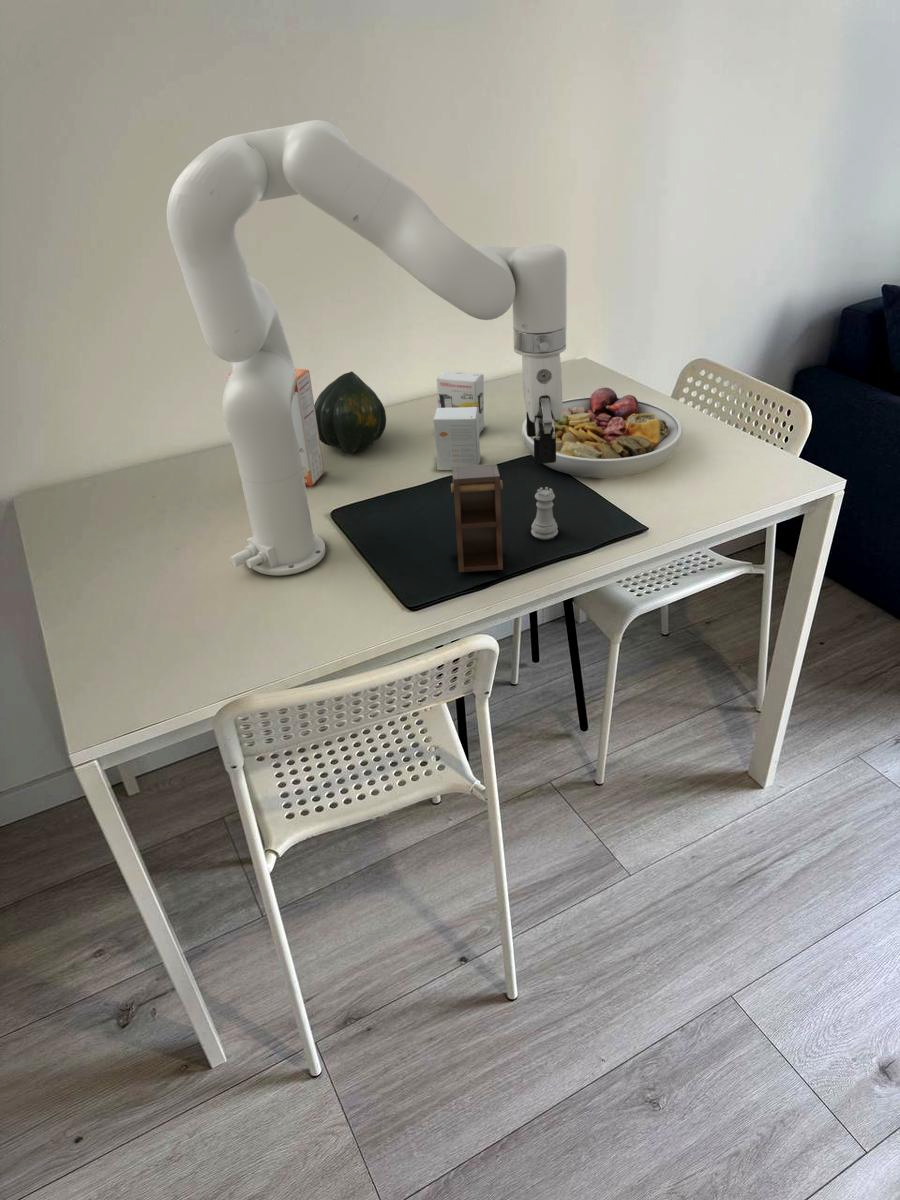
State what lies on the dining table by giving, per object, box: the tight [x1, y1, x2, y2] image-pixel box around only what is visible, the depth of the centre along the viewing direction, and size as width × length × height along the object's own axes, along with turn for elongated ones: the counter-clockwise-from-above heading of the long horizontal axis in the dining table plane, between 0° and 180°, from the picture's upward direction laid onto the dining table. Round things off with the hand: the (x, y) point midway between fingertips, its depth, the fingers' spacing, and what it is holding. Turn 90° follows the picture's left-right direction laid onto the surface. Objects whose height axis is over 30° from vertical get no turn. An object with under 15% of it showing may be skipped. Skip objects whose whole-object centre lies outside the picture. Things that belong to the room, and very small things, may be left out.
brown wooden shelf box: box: [450, 463, 504, 573], centre depth 132 cm, size 15×8×6 cm
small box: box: [432, 407, 481, 471], centre depth 163 cm, size 8×6×10 cm
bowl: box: [521, 387, 683, 479], centre depth 166 cm, size 30×30×8 cm
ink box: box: [436, 369, 485, 435], centre depth 176 cm, size 9×5×12 cm, turn 70°
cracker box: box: [225, 368, 325, 487], centre depth 160 cm, size 14×6×21 cm, turn 73°
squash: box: [314, 371, 387, 454], centre depth 173 cm, size 14×15×15 cm
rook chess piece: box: [530, 486, 559, 541], centre depth 141 cm, size 4×4×8 cm
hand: (541, 448), depth 133 cm, fingers open, 9 cm apart
